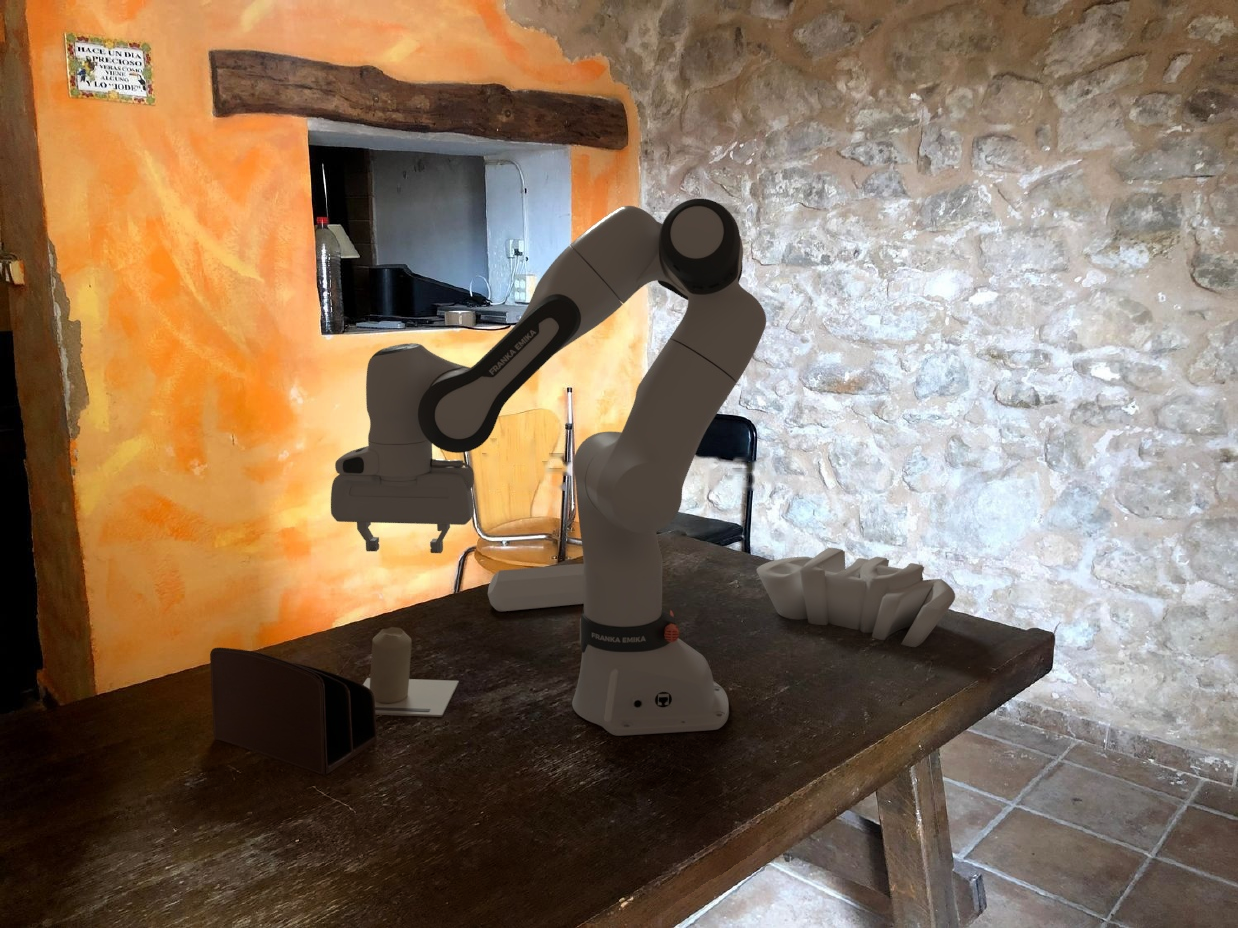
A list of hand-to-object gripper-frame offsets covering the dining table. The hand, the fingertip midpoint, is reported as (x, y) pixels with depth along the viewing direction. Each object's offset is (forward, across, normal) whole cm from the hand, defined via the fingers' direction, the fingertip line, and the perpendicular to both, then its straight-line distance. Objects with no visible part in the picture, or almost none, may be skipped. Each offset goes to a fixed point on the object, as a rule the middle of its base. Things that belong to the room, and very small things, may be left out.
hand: (404, 551), depth 143 cm
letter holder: (+22, +11, +18) cm, 30 cm away
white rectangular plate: (+21, 0, +4) cm, 21 cm away
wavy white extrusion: (+21, -72, -31) cm, 81 cm away
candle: (+21, +2, +4) cm, 21 cm away
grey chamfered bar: (+22, -17, -37) cm, 46 cm away
